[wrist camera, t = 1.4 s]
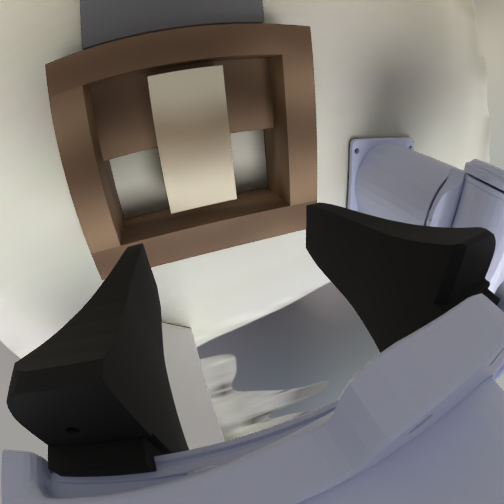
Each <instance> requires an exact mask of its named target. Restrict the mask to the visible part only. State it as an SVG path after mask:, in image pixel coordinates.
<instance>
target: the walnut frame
mask: <svg viewBox="0 0 504 504" xmlns="http://www.w3.org/2000/svg"><path fill="white" fill-rule="evenodd" d="M219 65H223V74H224V84H225V93H226V103H227V113H228V122H229V131H230V133H235V132H242V131H250V130H258V129H264V140H265V153H266V167H267V182H268V187H266V188H261V189H256V190H251V191H246V192H241V193H236V195H237V199H234V200H229V201H225V202H220V203H215V204H211V205H206V206H202V207H198V208H193V209H189V210H185V211H180V212H176V213H172V214H171V210H170V208H169V209H164V210H160V211H156V212H152V213H148V214H144V215H141V216H137V217H133V218H129V219H125V220H124V216H123V213H122V209H121V206H120V202H119V198H118V195H117V191H116V187H115V183H114V179H113V175H112V171H111V166H110V162H109V159H113V158H116V157H120V156H123V155H127V154H131V153H135V152H139V151H143V150H147V149H151V148H155V147H158V144H157V139H156V133H155V126H154V120H153V114H152V107H151V100H150V93H149V85H148V78H147V77H148V76H153V75H158V74H163V73H168V72H174V71H180V70H187V69H194V68H201V67H210V66H219ZM45 67H46V77H47V86H48V93H49V100H50V107H51V113H52V119H53V124H54V129H55V134H56V139H57V143H58V148H59V152H60V156H61V161H62V165H63V168H64V172H65V176H66V180H67V183H68V187H69V190H70V194H71V197H72V200H73V203H74V207H75V210H76V213H77V216H78V219H79V222H80V225H81V227H82V230H83V233H84V236H85V239H86V241H87V244H88V247H89V249H90V252H91V254H92V257H93V259H94V262H95V264H96V267H97V269H98V272H99V274H100V276H101V279H102V280H104V279H106V278H107V277H108V275H109V274H110V272H111V271H112V269H113V268H114V266H115V265H116V263H117V262H118V260H119V259H120V257H121V256H122V254H123V253H124V251H125V250H126V249H127V247H129V246H133V245H137V244H141V243H143V245H144V248H145V251H146V254H147V258H148V261H149V264H150V267H154V266H158V265H162V264H166V263H170V262H174V261H178V260H182V259H186V258H190V257H194V256H198V255H202V254H206V253H210V252H214V251H218V250H222V249H226V248H230V247H234V246H238V245H242V244H246V243H250V242H254V241H259V240H263V239H267V238H271V237H275V236H279V235H283V234H287V233H291V232H296V231H300V230H304V229H306V205H310V204H315V203H317V131H316V104H315V84H314V68H313V55H312V43H311V32H310V27H309V26H298V25H284V24H222V25H207V26H196V27H187V28H179V29H172V30H166V31H160V32H154V33H149V34H143V35H139V36H134V37H130V38H125V39H121V40H117V41H113V42H110V43H106V44H102V45H99V46H96V47H92V48H89V49H86V50H83V51H80V52H77V53H74V54H71V55H69V56H66V57H63V58H60V59H58V60H55V61H53V62H50V63H48V64H46V65H45Z"/></svg>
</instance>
